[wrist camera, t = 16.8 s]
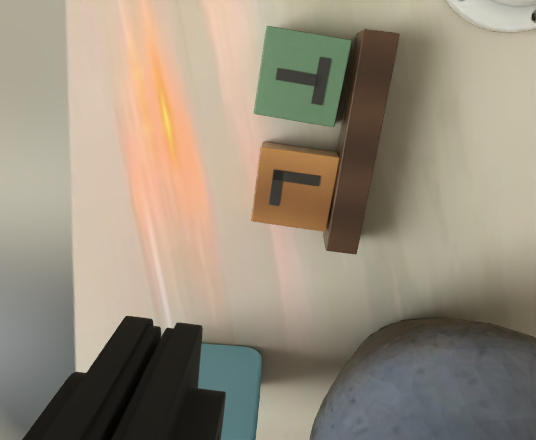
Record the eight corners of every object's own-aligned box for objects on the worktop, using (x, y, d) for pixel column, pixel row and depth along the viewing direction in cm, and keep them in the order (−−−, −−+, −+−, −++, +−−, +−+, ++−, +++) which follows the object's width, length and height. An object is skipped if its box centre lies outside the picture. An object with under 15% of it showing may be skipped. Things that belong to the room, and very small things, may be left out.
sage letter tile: (268, 29, 32) (266, 25, 30) (347, 42, 32) (352, 40, 30) (256, 111, 34) (253, 113, 32) (331, 123, 34) (334, 127, 32)
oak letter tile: (262, 141, 35) (260, 146, 32) (336, 152, 35) (340, 157, 32) (253, 211, 37) (250, 221, 34) (323, 222, 37) (326, 232, 34)
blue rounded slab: (139, 376, 43) (84, 485, 31) (137, 337, 41) (79, 436, 30) (260, 386, 42) (249, 500, 31) (263, 346, 41) (252, 451, 30)
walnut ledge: (356, 33, 32) (363, 29, 29) (388, 37, 32) (400, 33, 29) (322, 235, 37) (326, 250, 34) (350, 238, 37) (356, 254, 34)
